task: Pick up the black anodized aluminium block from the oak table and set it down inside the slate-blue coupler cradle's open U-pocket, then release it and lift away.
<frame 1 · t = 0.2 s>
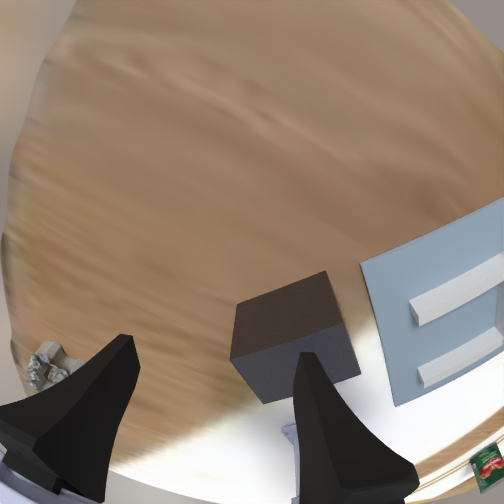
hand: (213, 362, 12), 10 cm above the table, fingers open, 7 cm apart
coupler cradle: (457, 317, 23), on the table
egg carton: (63, 369, 29), on the table
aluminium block: (292, 312, 23), on the table
canned tomato: (482, 451, 41), on the table
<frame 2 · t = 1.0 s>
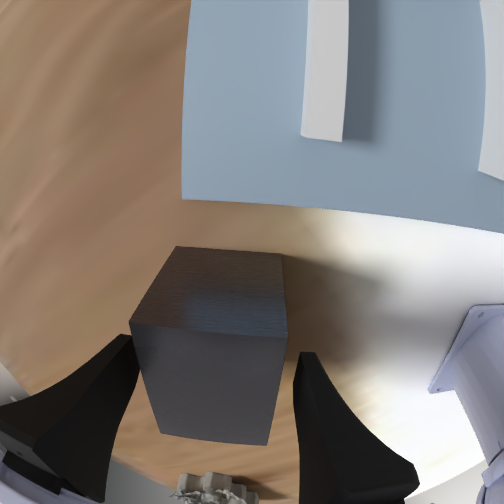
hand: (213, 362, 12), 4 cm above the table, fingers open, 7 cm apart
coupler cradle: (417, 51, 9), on the table
egg carton: (219, 484, 28), on the table
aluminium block: (226, 309, 16), on the table
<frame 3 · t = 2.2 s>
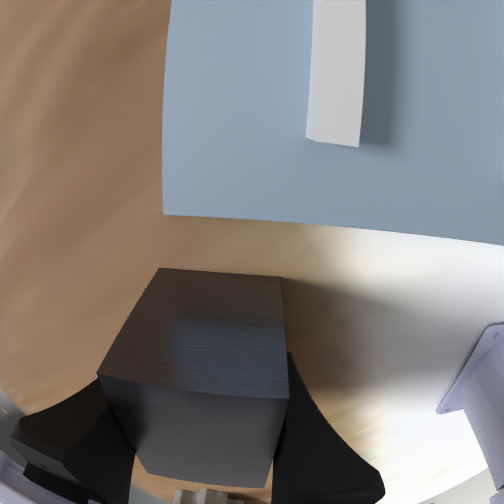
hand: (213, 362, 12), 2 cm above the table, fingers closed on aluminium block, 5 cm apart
coupler cradle: (439, 42, 7), on the table
egg carton: (216, 499, 26), on the table
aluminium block: (218, 338, 13), on the table, touching gripper
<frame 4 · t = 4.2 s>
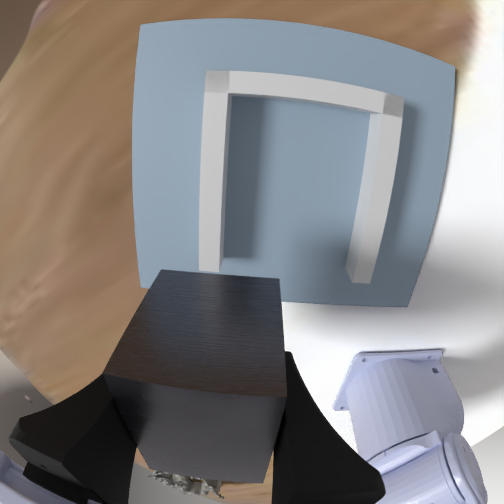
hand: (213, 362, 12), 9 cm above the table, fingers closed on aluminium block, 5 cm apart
coupler cradle: (294, 184, 18), on the table
egg carton: (189, 468, 36), on the table
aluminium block: (218, 337, 14), point 7 cm above the table, touching gripper
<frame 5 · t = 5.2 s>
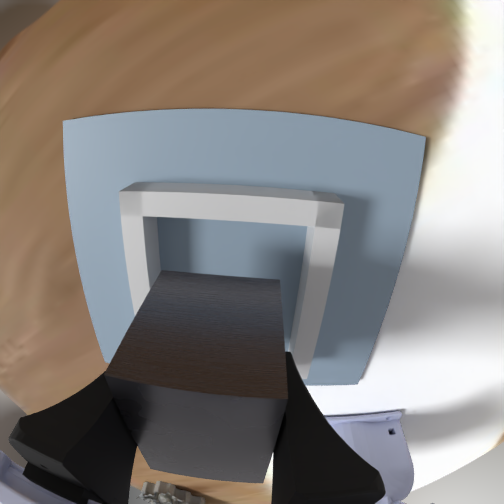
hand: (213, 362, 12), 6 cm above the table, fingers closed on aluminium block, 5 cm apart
coupler cradle: (229, 287, 18), on the table
egg carton: (174, 490, 36), on the table
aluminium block: (219, 337, 14), point 4 cm above the table, touching gripper
when the fingers open (4 cm above the table, at t = 6.2 s): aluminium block drops 1 cm, resting on coupler cradle.
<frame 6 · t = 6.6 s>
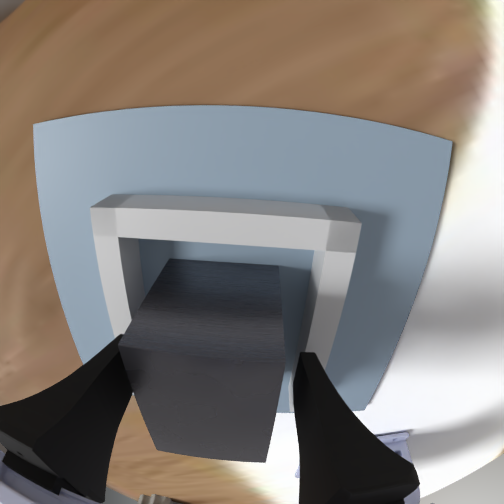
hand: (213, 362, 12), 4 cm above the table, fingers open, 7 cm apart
coupler cradle: (223, 313, 15), on the table
egg carton: (172, 502, 34), on the table
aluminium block: (222, 323, 15), resting on coupler cradle
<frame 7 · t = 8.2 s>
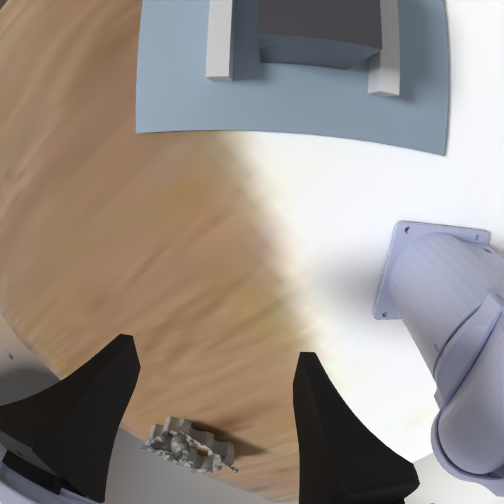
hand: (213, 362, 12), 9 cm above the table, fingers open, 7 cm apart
coupler cradle: (303, 13, 13), on the table
egg carton: (193, 436, 32), on the table
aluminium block: (304, 14, 13), resting on coupler cradle
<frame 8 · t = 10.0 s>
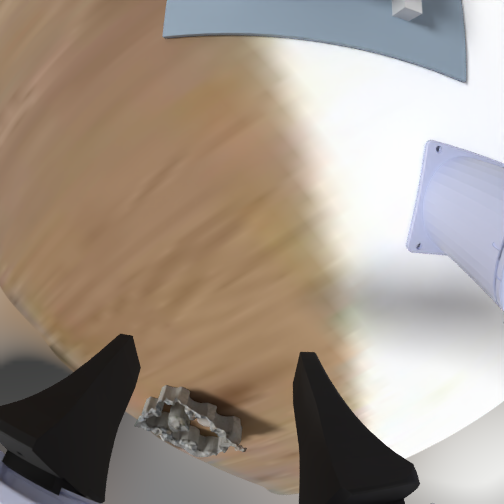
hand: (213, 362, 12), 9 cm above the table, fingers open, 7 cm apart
egg carton: (194, 412, 29), on the table
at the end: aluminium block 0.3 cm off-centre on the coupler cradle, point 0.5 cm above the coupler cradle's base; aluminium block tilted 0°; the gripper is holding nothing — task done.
